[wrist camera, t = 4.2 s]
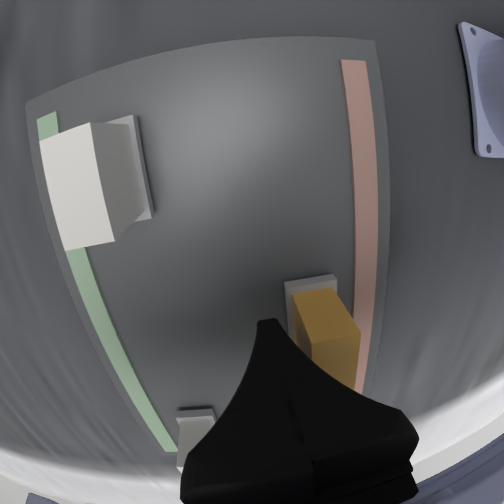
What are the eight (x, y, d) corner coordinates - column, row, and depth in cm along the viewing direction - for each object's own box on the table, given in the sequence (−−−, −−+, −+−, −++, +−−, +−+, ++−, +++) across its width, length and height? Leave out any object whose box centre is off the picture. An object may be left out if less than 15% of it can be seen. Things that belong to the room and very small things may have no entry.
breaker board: (355, 51, 10) (377, 39, 8) (353, 408, 19) (363, 430, 17) (48, 104, 10) (22, 103, 8) (164, 434, 18) (161, 458, 16)
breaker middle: (332, 273, 12) (367, 323, 8) (332, 342, 13) (357, 397, 10) (283, 282, 12) (304, 336, 8) (289, 351, 13) (306, 409, 10)
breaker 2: (212, 408, 14) (212, 463, 11) (225, 441, 16) (227, 489, 12) (176, 410, 14) (170, 464, 11) (193, 443, 15) (191, 490, 12)
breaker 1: (137, 115, 9) (95, 107, 6) (155, 214, 10) (124, 251, 7) (86, 130, 9) (32, 133, 6) (105, 224, 10) (62, 262, 7)
